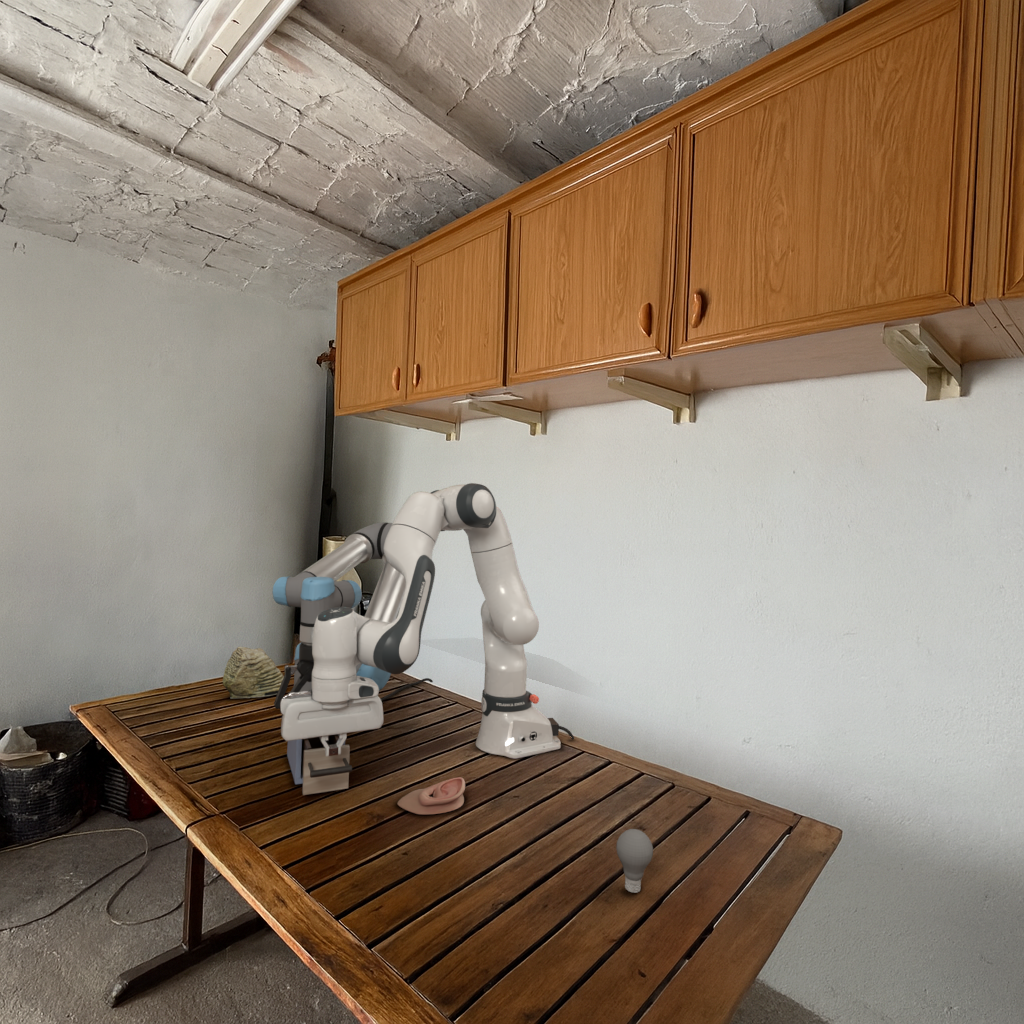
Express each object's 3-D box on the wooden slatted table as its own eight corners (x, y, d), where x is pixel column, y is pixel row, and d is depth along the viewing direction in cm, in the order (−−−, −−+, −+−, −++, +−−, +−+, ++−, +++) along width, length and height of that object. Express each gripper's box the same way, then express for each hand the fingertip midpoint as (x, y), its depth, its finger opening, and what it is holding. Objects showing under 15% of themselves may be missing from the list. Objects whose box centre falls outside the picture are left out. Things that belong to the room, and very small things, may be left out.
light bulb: (610, 879, 108) (613, 822, 108) (644, 879, 109) (647, 822, 109) (619, 902, 102) (622, 840, 102) (655, 901, 103) (658, 840, 103)
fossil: (218, 695, 195) (220, 647, 195) (278, 685, 208) (279, 640, 207) (228, 703, 189) (230, 653, 188) (289, 692, 201) (290, 645, 201)
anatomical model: (392, 791, 129) (412, 768, 140) (391, 810, 129) (411, 786, 140) (454, 800, 126) (470, 776, 137) (454, 820, 126) (469, 794, 137)
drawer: (353, 800, 130) (355, 756, 130) (306, 808, 126) (308, 763, 126) (335, 760, 149) (336, 722, 149) (294, 766, 145) (295, 727, 145)
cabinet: (344, 777, 143) (345, 728, 143) (295, 784, 138) (297, 734, 138) (331, 750, 158) (332, 706, 158) (287, 755, 154) (288, 710, 154)
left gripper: (265, 648, 144) (262, 745, 144) (367, 642, 153) (363, 733, 154) (263, 641, 150) (260, 733, 151) (361, 636, 160) (357, 723, 161)
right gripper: (281, 698, 122) (280, 769, 123) (386, 686, 131) (385, 752, 132) (278, 689, 128) (277, 756, 128) (378, 678, 137) (377, 741, 137)
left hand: (312, 733), depth 152 cm, fingers closed on cabinet, 10 cm apart
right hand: (332, 754), depth 130 cm, fingers closed
